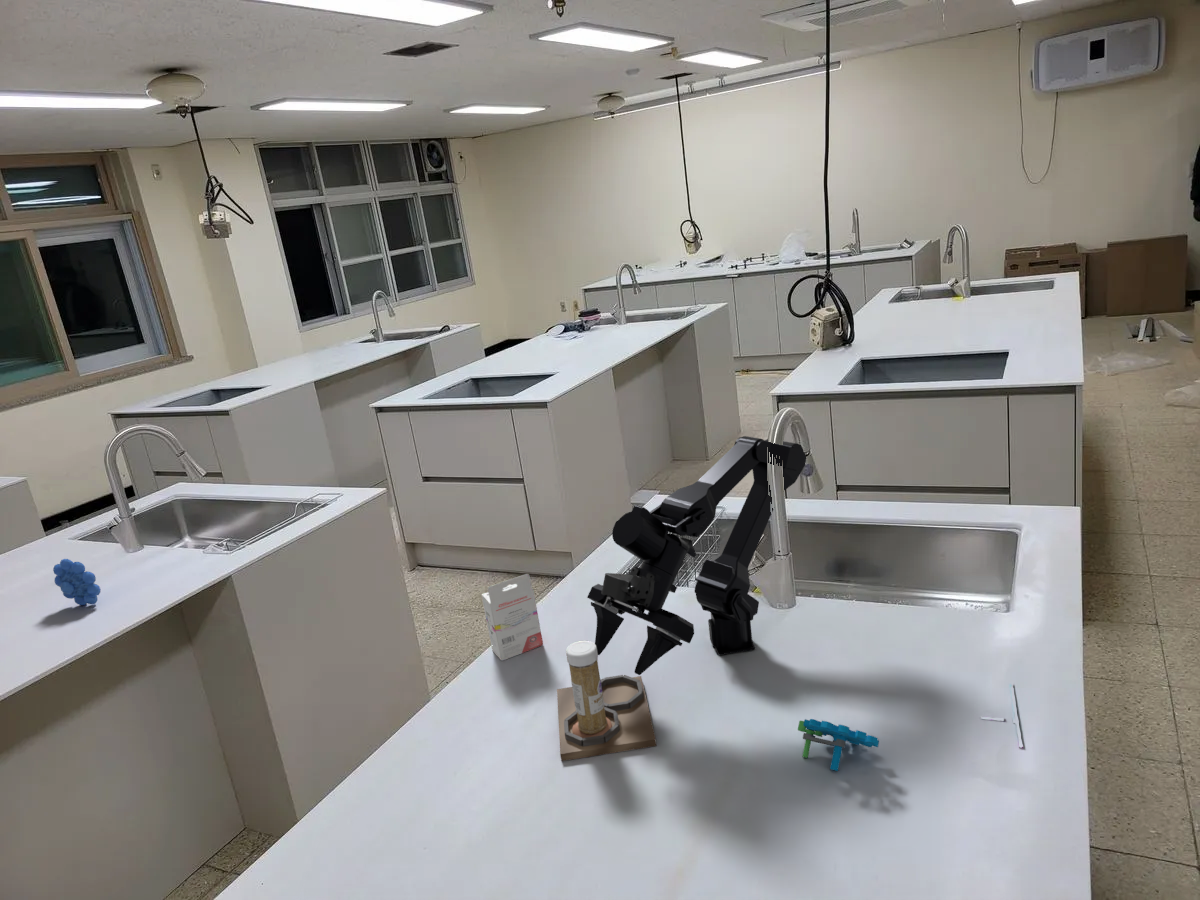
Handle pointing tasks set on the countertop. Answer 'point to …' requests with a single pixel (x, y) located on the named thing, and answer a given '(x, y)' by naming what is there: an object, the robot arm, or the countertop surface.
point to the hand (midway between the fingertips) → (616, 663)
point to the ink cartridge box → (512, 617)
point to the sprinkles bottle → (586, 686)
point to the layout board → (623, 717)
